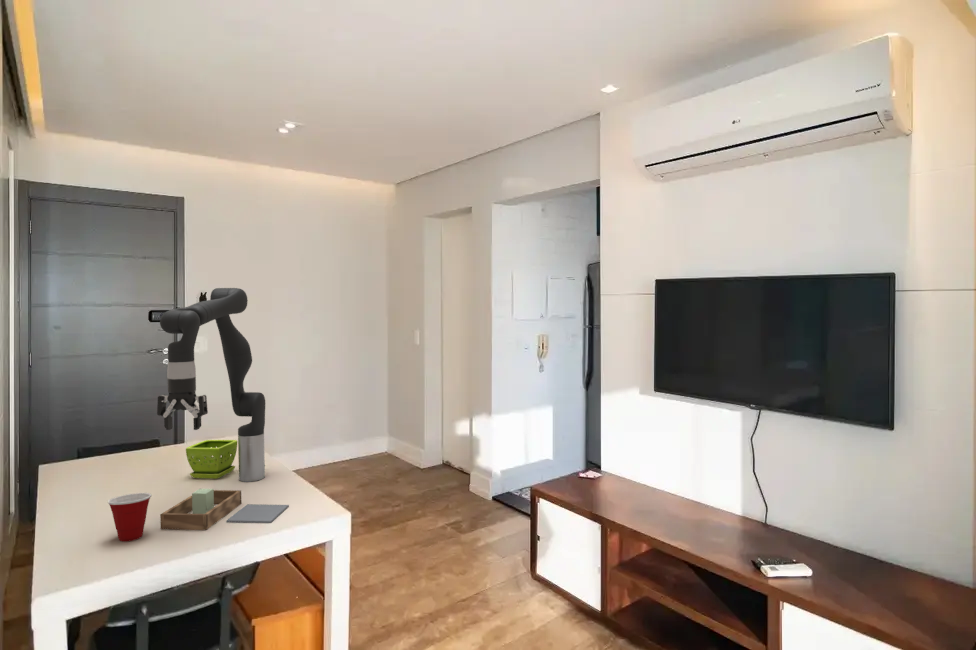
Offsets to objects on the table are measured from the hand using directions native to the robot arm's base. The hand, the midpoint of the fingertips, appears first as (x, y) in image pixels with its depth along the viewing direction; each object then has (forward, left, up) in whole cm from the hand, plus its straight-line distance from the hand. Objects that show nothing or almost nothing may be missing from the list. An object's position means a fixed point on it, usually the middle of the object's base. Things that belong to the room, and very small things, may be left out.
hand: (182, 429), depth 172 cm
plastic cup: (+10, -10, -30) cm, 33 cm away
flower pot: (-48, -17, -30) cm, 59 cm away
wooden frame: (-7, +2, -29) cm, 30 cm away
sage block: (-7, +2, -29) cm, 30 cm away
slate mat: (-9, +19, -29) cm, 36 cm away
